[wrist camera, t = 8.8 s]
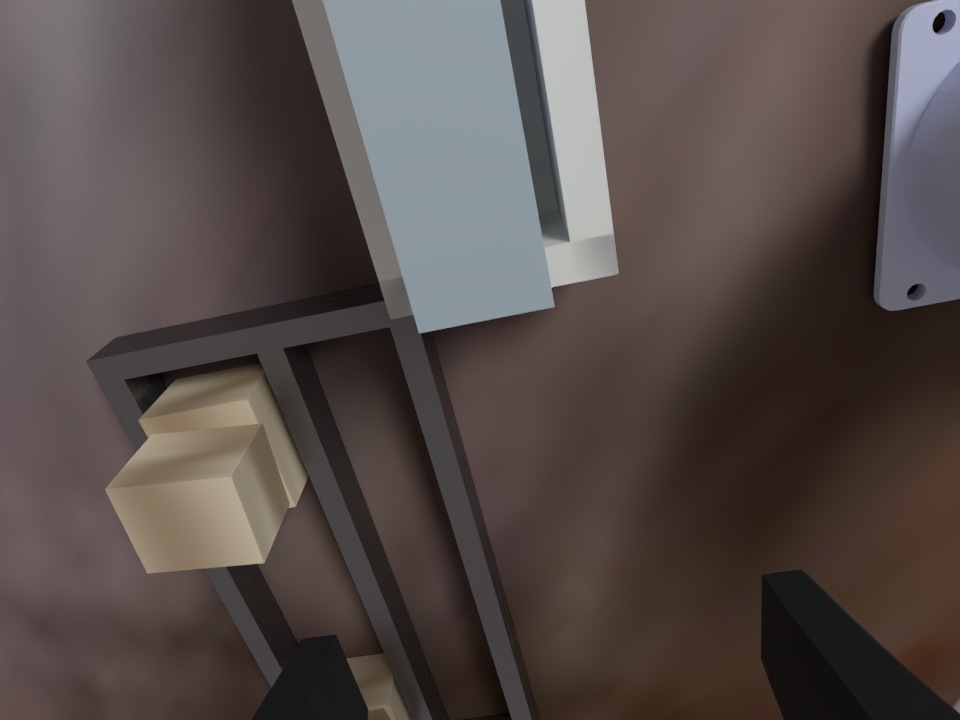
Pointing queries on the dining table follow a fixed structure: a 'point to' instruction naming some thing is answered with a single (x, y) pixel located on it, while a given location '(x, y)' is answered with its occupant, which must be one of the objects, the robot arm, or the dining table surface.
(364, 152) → the holder
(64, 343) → the dining table surface
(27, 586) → the dining table surface
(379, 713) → the birch offcut
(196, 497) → the birch offcut stack
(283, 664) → the rack
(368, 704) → the birch offcut
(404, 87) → the chamfered blue-grey beam
